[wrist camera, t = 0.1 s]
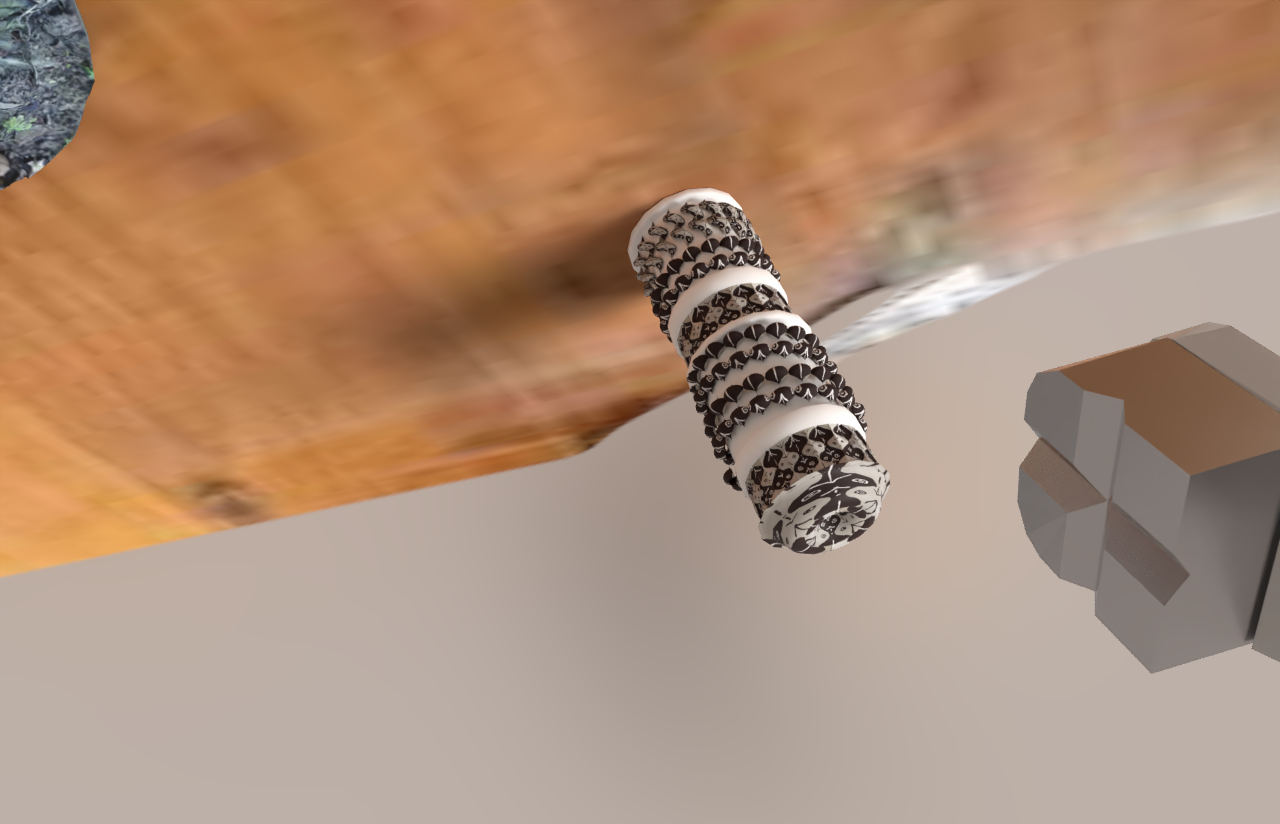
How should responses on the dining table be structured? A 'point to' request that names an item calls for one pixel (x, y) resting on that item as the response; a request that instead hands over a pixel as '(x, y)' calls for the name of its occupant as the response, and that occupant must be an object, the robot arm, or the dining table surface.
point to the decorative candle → (758, 374)
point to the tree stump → (40, 82)
